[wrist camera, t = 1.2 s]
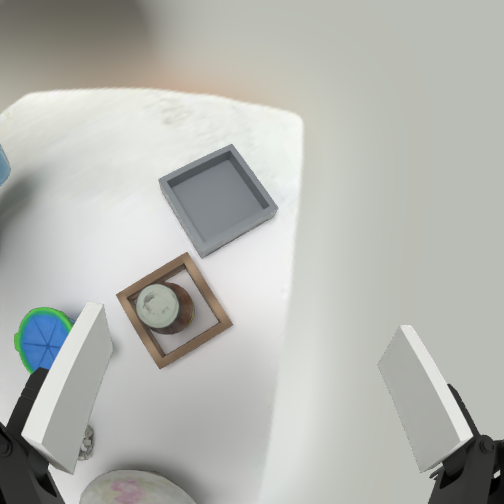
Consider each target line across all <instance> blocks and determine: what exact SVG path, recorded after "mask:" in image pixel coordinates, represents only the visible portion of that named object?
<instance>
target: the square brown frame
mask: <svg viewBox="0 0 504 504" xmlns="http://www.w3.org/2000/svg"><path fill="white" fill-rule="evenodd" d="M185 268H186V270H187V271H188V273H189V275H190V276H191V278H192V280H193V281H194V283H195V284H196V286H197V288H198V289H199V291H200V293H201V294H202V296H203V297H204V299H205V300H206V302H207V304H208V305H209V307H210V308H211V310H212V311H213V313H214V315H215V316H216V318H217V319H218V321H219V322H220V323H218V324H216V325H215V326H213V327H212V328H210V329H208V330H207V331H205V332H204V333H202V334H200V335H199V336H197V337H196V338H194V339H192V340H191V341H189V342H187V343H186V344H184V345H182V346H181V347H179V348H178V349H176V350H174V351H173V352H171V353H169V354H168V355H165V354H164V352H163V351H162V349H161V348H160V346H159V344H158V343H157V341H156V340H155V338H154V336H153V335H152V333H151V331H150V330H149V328H148V326H147V325H146V324H144V323H143V322H142V320H141V319H140V318H139V316H138V314H137V311H136V306H135V304H134V302H133V300H134V299H136V298H137V297H138V296H139V294H140V292H141V291H142V290H143V289H144V288H146V287H147V286H150V285H152V284H157V283H158V282H164V281H165V280H167V279H169V278H170V277H172V276H174V275H175V274H177V273H179V272H180V271H182V270H184V269H185ZM116 296H117V298H118V300H119V302H120V303H121V305H122V307H123V309H124V311H125V313H126V314H127V316H128V318H129V320H130V321H131V323H132V325H133V327H134V328H135V330H136V332H137V334H138V335H139V337H140V339H141V340H142V342H143V344H144V345H145V347H146V348H147V350H148V352H149V353H150V355H151V356H152V358H153V360H154V361H155V363H156V364H157V366H158V367H159V369H162V368H163V367H165V366H167V365H168V364H170V363H172V362H174V361H175V360H177V359H179V358H180V357H182V356H184V355H185V354H187V353H188V352H190V351H192V350H193V349H195V348H197V347H198V346H200V345H202V344H203V343H205V342H206V341H208V340H210V339H211V338H213V337H214V336H216V335H218V334H219V333H221V332H222V331H224V330H225V329H227V328H229V327H230V326H232V325H233V324H232V322H231V321H230V319H229V318H228V316H227V315H226V313H225V312H224V310H223V309H222V307H221V306H220V304H219V302H218V301H217V299H216V298H215V296H214V295H213V293H212V291H211V290H210V288H209V287H208V285H207V283H206V282H205V280H204V279H203V277H202V275H201V274H200V272H199V271H198V269H197V267H196V266H195V264H194V262H193V261H192V259H191V257H190V256H189V254H188V252H186V253H184V254H182V255H181V256H179V257H177V258H176V259H174V260H172V261H171V262H169V263H167V264H166V265H164V266H162V267H161V268H159V269H157V270H156V271H154V272H152V273H151V274H149V275H147V276H146V277H144V278H142V279H141V280H139V281H137V282H136V283H134V284H132V285H131V286H129V287H128V288H126V289H124V290H123V291H121V292H119V293H118V294H116Z"/></svg>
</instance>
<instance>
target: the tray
mask: <svg viewBox="0 0 504 504" xmlns="http://www.w3.org/2000/svg"><path fill="white" fill-rule="evenodd" d="M158 180H159V184H160V188H161V191H162V193H163V195H164V196H165V198H166V200H167V201H168V203H169V205H170V207H171V208H172V210H173V212H174V213H175V215H176V217H177V218H178V220H179V222H180V224H181V225H182V227H183V229H184V230H185V232H186V234H187V235H188V237H189V239H190V240H191V242H192V244H193V245H194V247H195V248H196V250H197V252H198V253H199V255H200V257H201V258H204V257H205V256H207V255H209V254H211V253H212V252H214V251H216V250H217V249H219V248H221V247H222V246H224V245H226V244H228V243H229V242H231V241H233V240H234V239H236V238H238V237H240V236H241V235H243V234H245V233H246V232H248V231H250V230H252V229H253V228H255V227H257V226H258V225H260V224H262V223H264V222H265V221H267V220H269V219H271V218H272V217H273V216H274V215H275V213H276V212H277V210H278V207H277V205H276V204H275V202H274V201H273V200H272V198H271V197H270V195H269V194H268V193H267V191H266V190H265V188H264V187H263V186H262V184H261V183H260V181H259V180H258V179H257V177H256V176H255V174H254V173H253V172H252V170H251V169H250V167H249V166H248V165H247V163H246V162H245V161H244V159H243V158H242V157H241V155H240V154H239V152H238V151H237V150H236V148H235V147H234V146H233V144H231V145H228V146H226V147H224V148H222V149H219V150H217V151H215V152H213V153H211V154H209V155H206V156H204V157H202V158H200V159H198V160H196V161H194V162H192V163H190V164H188V165H186V166H184V167H182V168H180V169H178V170H176V171H174V172H172V173H170V174H168V175H166V176H164V177H162V178H160V179H158Z"/></svg>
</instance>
